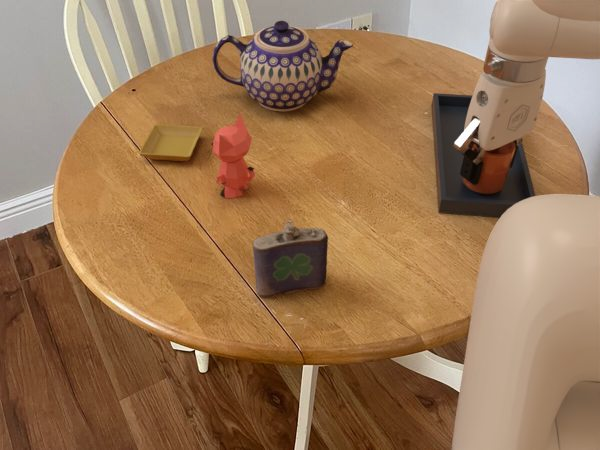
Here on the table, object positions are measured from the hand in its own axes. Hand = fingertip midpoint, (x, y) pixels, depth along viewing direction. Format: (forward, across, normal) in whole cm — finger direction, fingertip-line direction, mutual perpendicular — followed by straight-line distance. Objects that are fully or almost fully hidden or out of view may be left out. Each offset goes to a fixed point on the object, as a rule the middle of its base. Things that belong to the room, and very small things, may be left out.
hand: (486, 170), depth 88 cm
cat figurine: (+4, -32, +20) cm, 38 cm away
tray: (+4, +5, +6) cm, 9 cm away
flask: (+4, -35, -1) cm, 35 cm away
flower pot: (+2, 0, 0) cm, 2 cm away
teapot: (+4, -12, +39) cm, 41 cm away
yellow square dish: (+4, -36, +35) cm, 50 cm away
